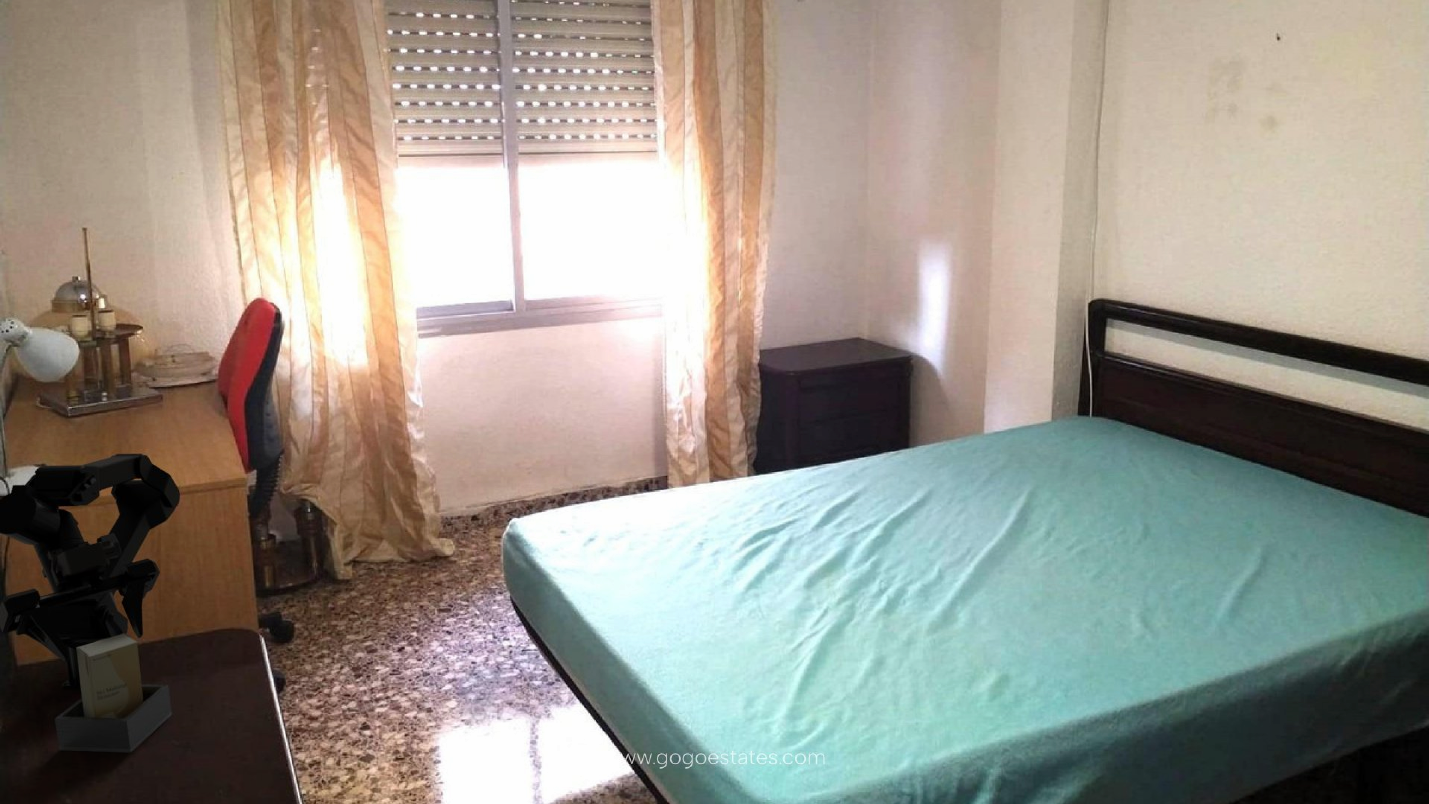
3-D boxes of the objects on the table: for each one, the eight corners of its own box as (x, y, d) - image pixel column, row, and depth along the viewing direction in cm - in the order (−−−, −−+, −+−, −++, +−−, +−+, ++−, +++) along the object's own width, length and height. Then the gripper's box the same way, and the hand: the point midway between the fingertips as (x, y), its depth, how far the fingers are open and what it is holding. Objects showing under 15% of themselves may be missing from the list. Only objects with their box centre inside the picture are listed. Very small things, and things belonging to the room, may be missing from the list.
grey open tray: (59, 750, 139) (54, 718, 138) (104, 712, 148) (100, 683, 147) (130, 752, 138) (126, 721, 137) (172, 714, 147) (168, 685, 146)
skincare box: (98, 743, 139) (85, 657, 136) (85, 732, 142) (72, 647, 139) (149, 724, 144) (138, 640, 141) (135, 713, 147) (124, 631, 144)
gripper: (-9, 538, 134) (35, 644, 130) (146, 502, 148) (190, 597, 144) (-20, 581, 141) (21, 683, 136) (129, 543, 155) (171, 635, 150)
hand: (104, 648), depth 142 cm, fingers open, 9 cm apart
